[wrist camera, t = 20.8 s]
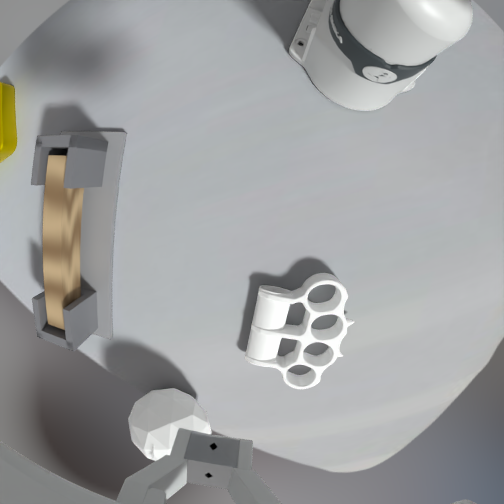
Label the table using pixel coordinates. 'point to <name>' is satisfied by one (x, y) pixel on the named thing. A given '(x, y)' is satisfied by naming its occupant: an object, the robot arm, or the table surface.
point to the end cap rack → (85, 229)
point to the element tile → (7, 121)
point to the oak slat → (61, 241)
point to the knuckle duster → (296, 330)
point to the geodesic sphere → (164, 420)
